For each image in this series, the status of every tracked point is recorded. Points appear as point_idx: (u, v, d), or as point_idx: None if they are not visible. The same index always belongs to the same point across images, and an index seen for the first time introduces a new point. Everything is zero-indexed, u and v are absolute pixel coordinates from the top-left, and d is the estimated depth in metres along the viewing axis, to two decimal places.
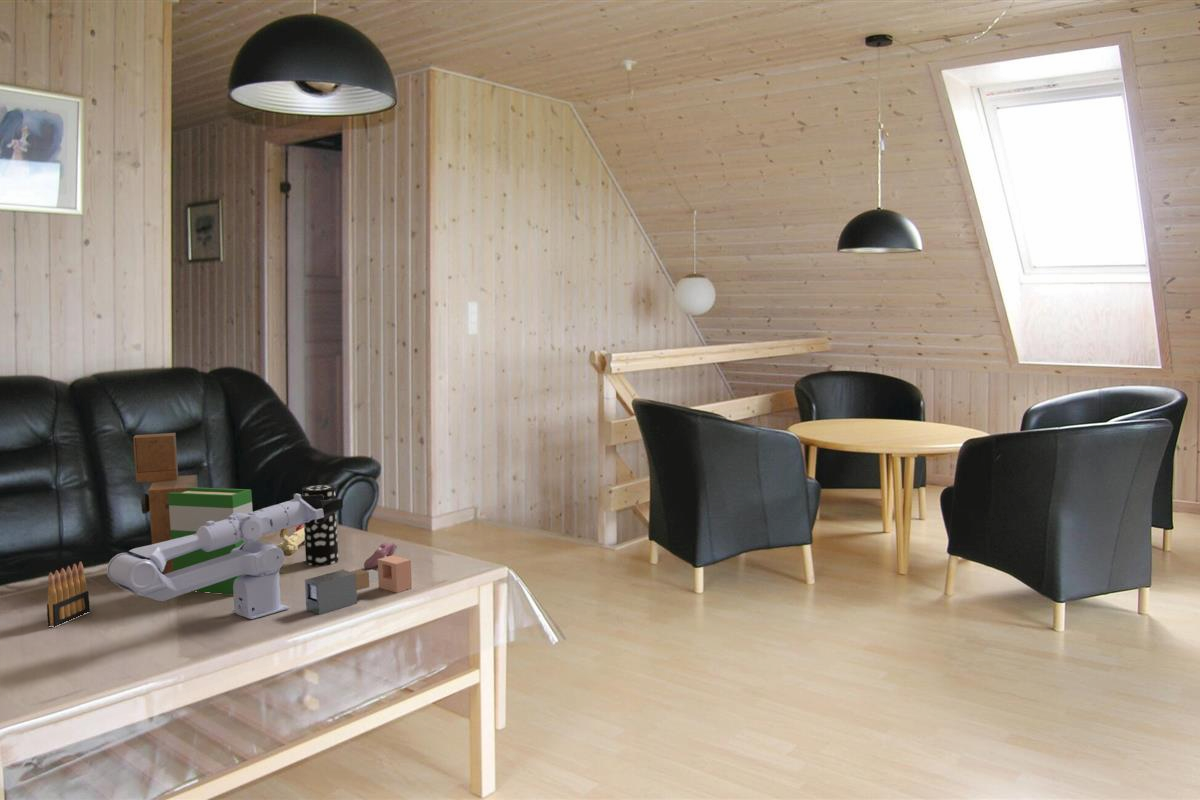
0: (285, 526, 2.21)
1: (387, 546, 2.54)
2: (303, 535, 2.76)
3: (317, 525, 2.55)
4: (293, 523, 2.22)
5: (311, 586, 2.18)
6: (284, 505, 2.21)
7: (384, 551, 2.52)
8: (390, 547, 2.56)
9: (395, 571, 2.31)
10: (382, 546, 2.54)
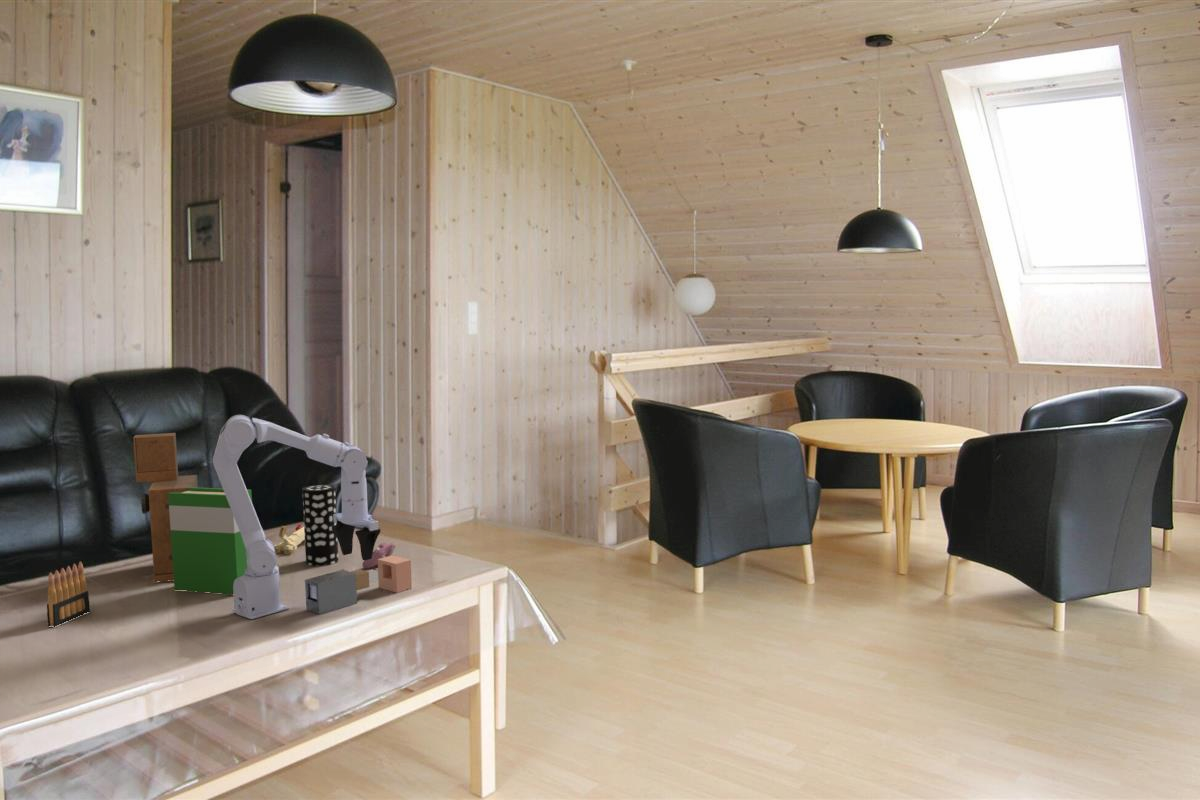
0: (346, 499, 2.22)
1: (385, 546, 2.54)
2: (302, 535, 2.76)
3: (317, 525, 2.55)
4: (353, 508, 2.22)
5: (311, 586, 2.18)
6: None
7: (382, 551, 2.52)
8: (388, 547, 2.56)
9: (395, 571, 2.31)
10: (380, 546, 2.54)
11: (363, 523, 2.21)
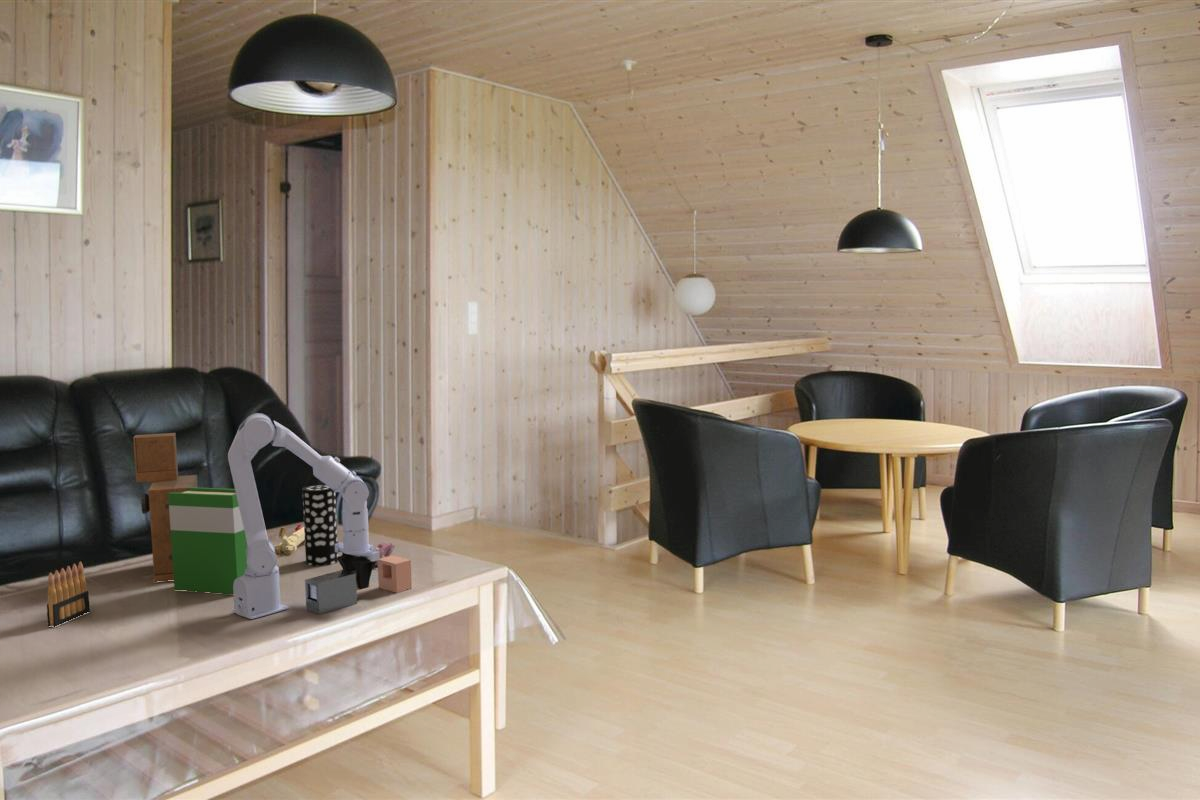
0: (347, 529, 2.23)
1: (385, 546, 2.55)
2: (302, 535, 2.76)
3: (317, 525, 2.55)
4: (355, 538, 2.23)
5: (311, 586, 2.18)
6: None
7: (382, 551, 2.53)
8: (388, 547, 2.56)
9: (395, 571, 2.31)
10: (380, 546, 2.54)
11: (364, 554, 2.22)
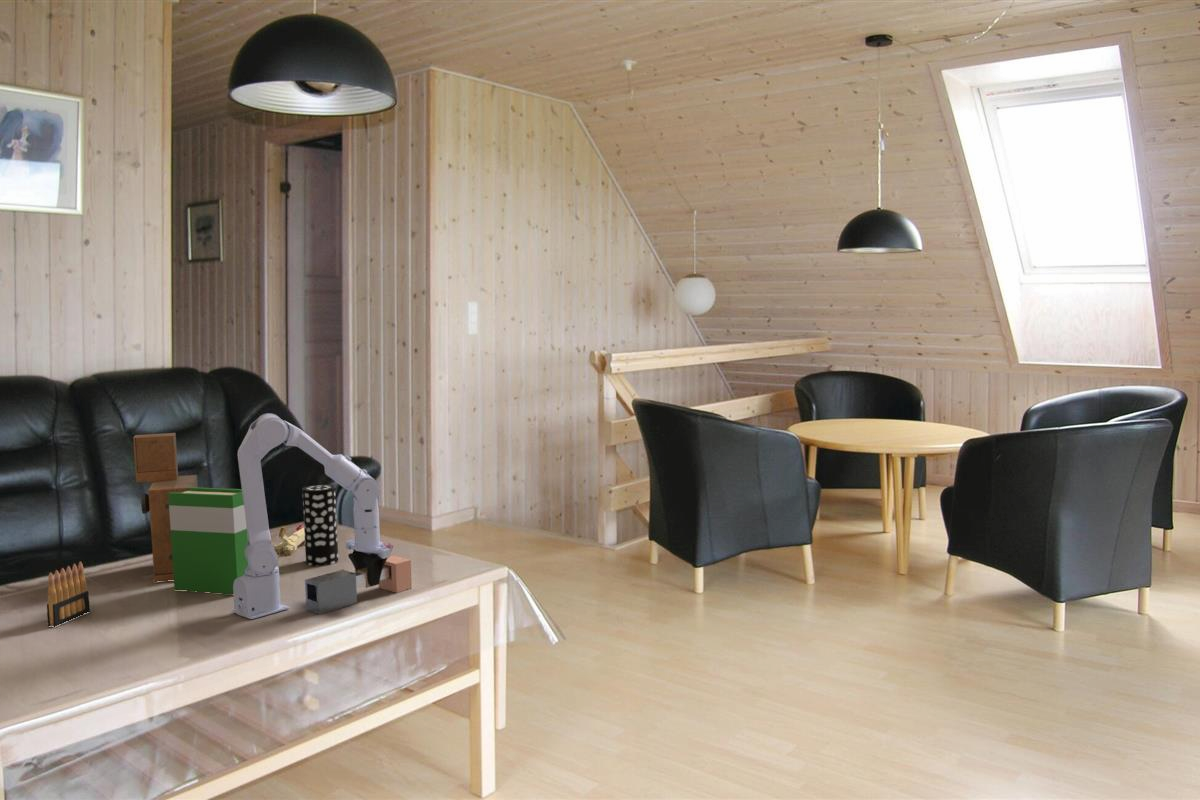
0: (359, 527, 2.25)
1: None
2: (303, 535, 2.76)
3: (317, 525, 2.55)
4: (366, 535, 2.25)
5: None
6: None
7: None
8: (387, 547, 2.56)
9: (395, 571, 2.31)
10: None
11: (375, 551, 2.24)
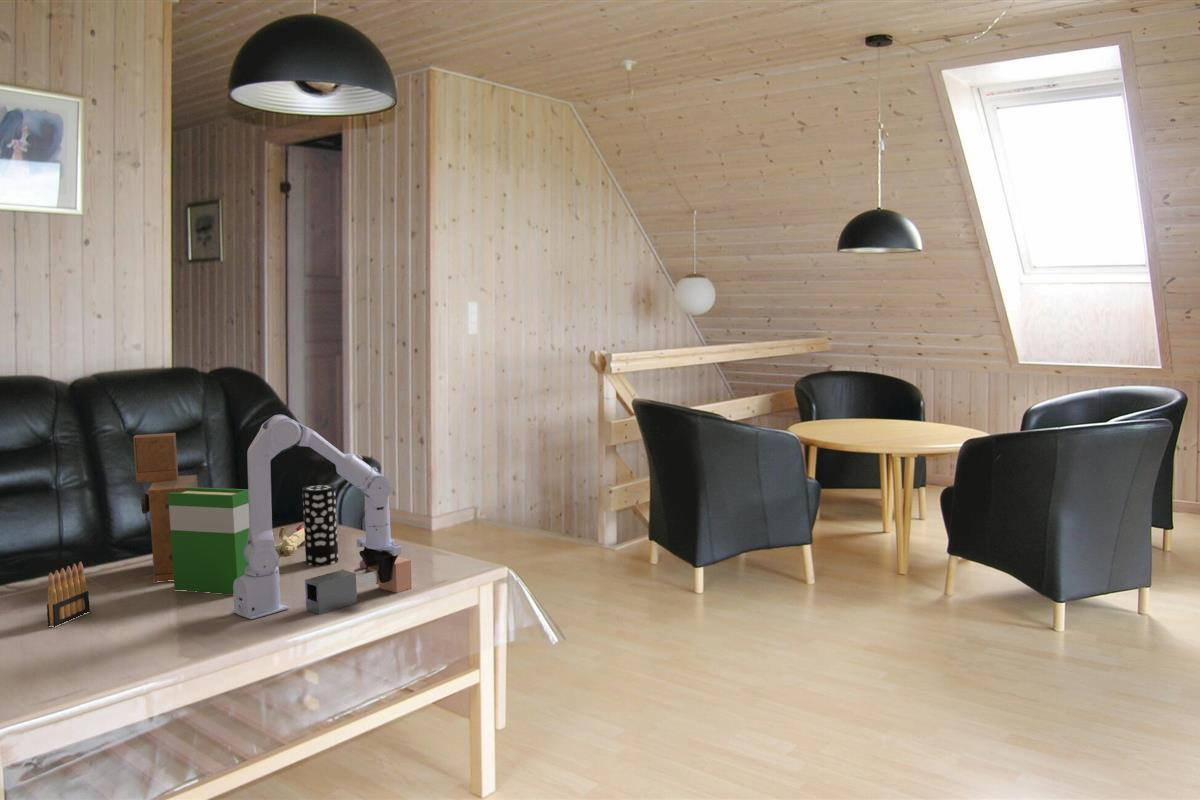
0: (371, 524, 2.28)
1: None
2: (303, 535, 2.76)
3: (317, 525, 2.55)
4: (377, 533, 2.28)
5: None
6: None
7: None
8: None
9: (395, 571, 2.31)
10: None
11: (386, 548, 2.27)
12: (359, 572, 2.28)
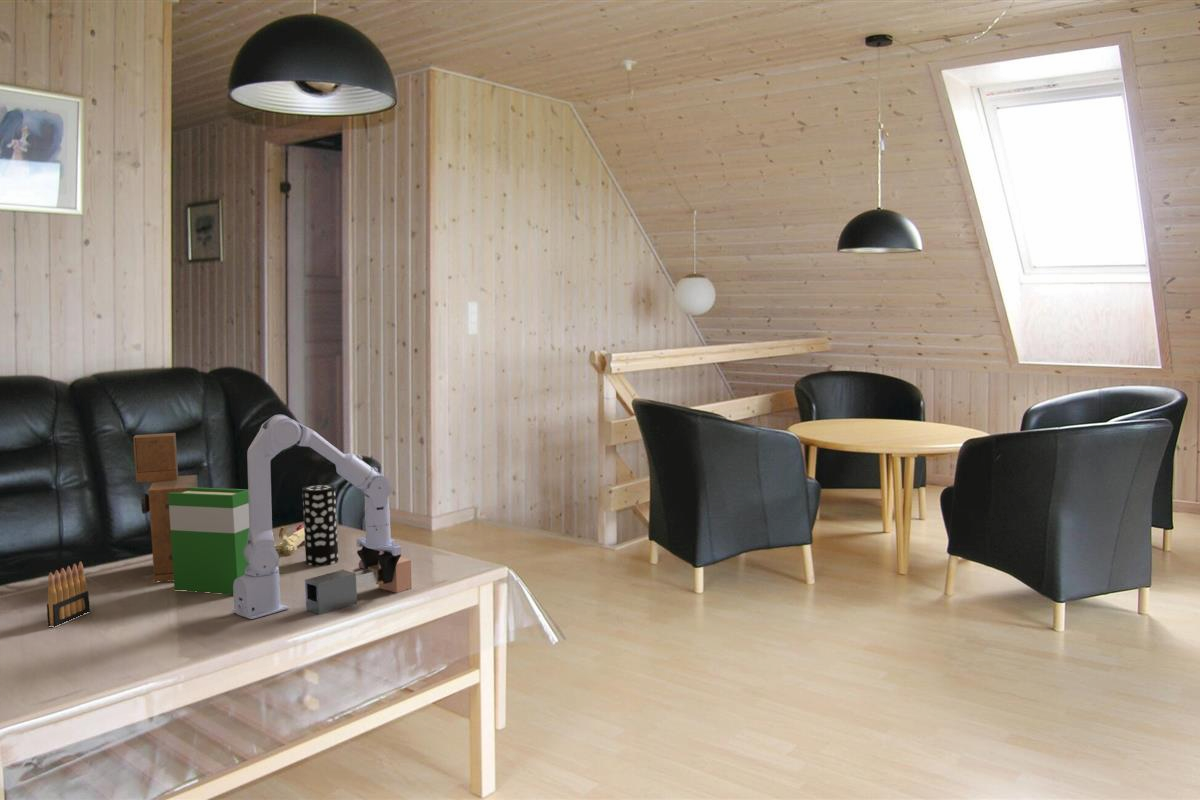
0: (371, 524, 2.28)
1: None
2: (303, 535, 2.76)
3: (317, 525, 2.55)
4: (377, 533, 2.28)
5: None
6: None
7: None
8: None
9: (395, 571, 2.31)
10: None
11: (386, 548, 2.27)
12: (359, 572, 2.28)
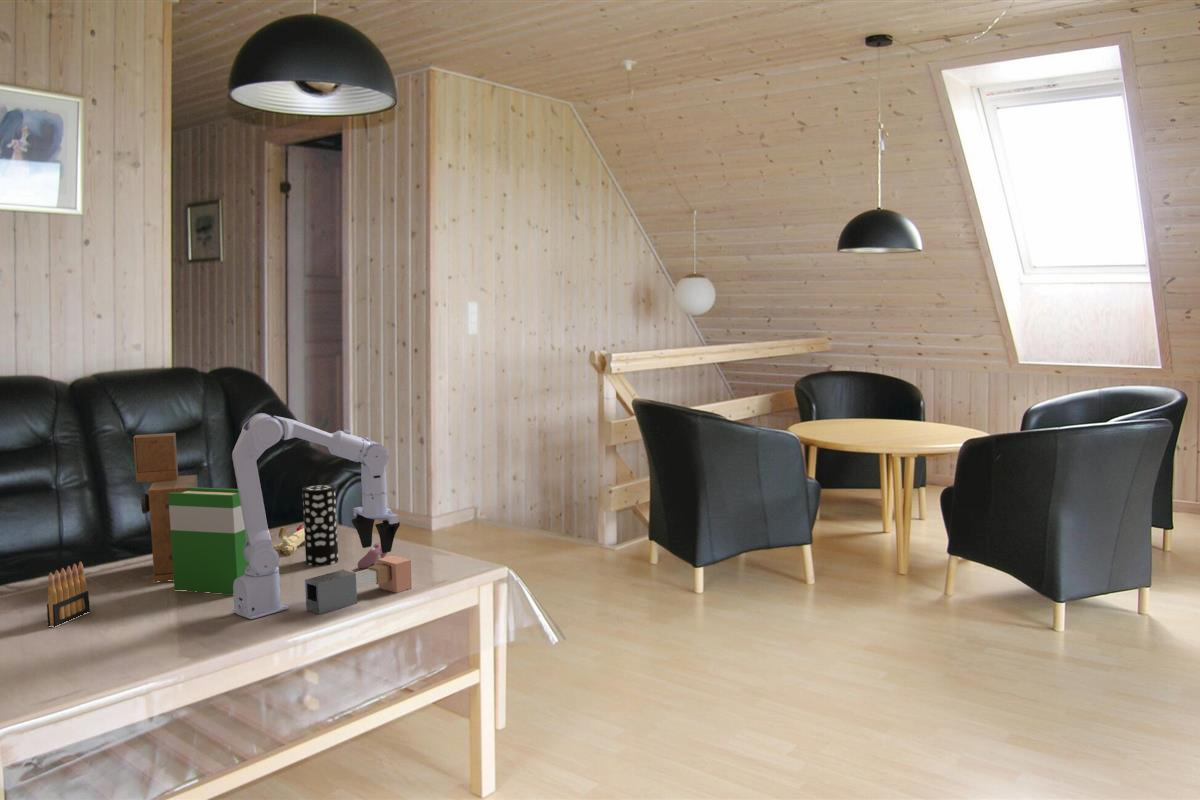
0: (368, 493, 2.27)
1: None
2: (303, 536, 2.75)
3: (317, 525, 2.55)
4: (373, 501, 2.27)
5: None
6: None
7: (378, 551, 2.53)
8: None
9: (395, 571, 2.31)
10: (376, 546, 2.55)
11: (383, 516, 2.26)
12: (359, 572, 2.28)
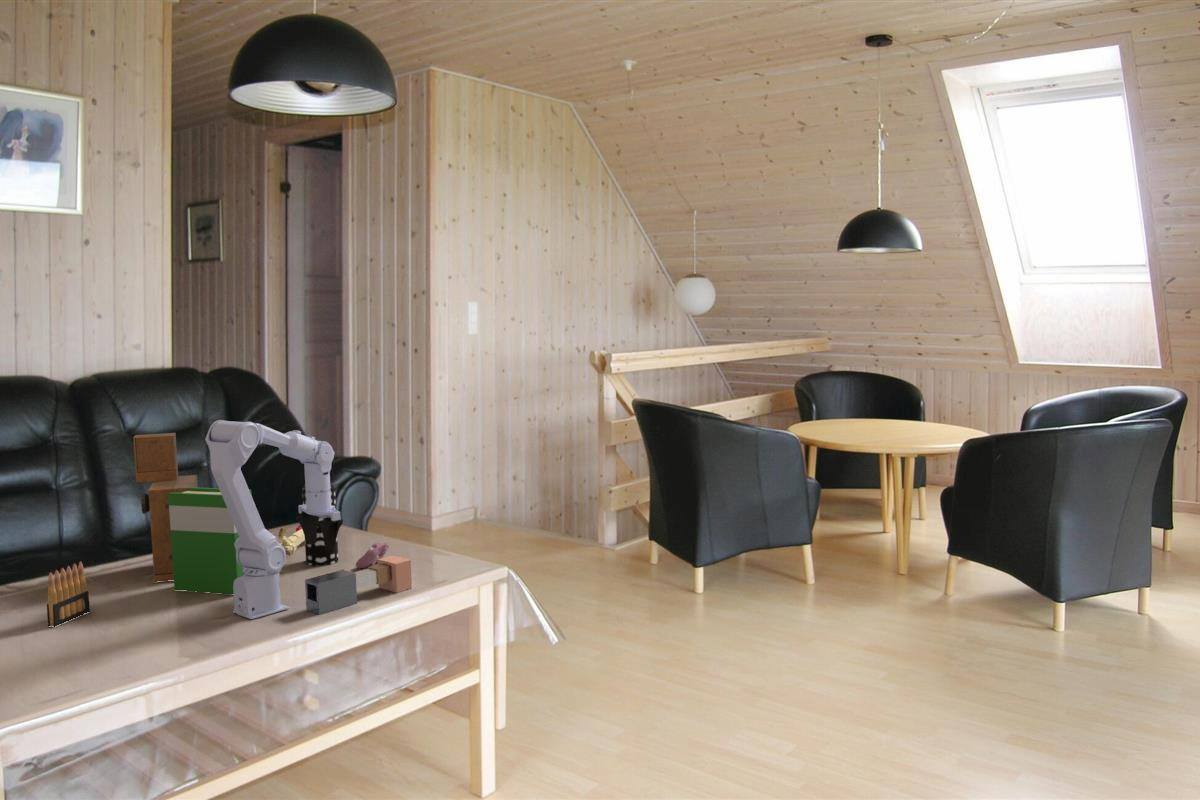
0: (318, 490, 2.31)
1: (379, 546, 2.55)
2: (302, 536, 2.75)
3: None
4: (316, 499, 2.31)
5: None
6: (330, 491, 2.35)
7: (376, 551, 2.53)
8: (382, 547, 2.56)
9: (395, 571, 2.31)
10: (374, 546, 2.55)
11: (326, 513, 2.30)
12: (359, 572, 2.28)
